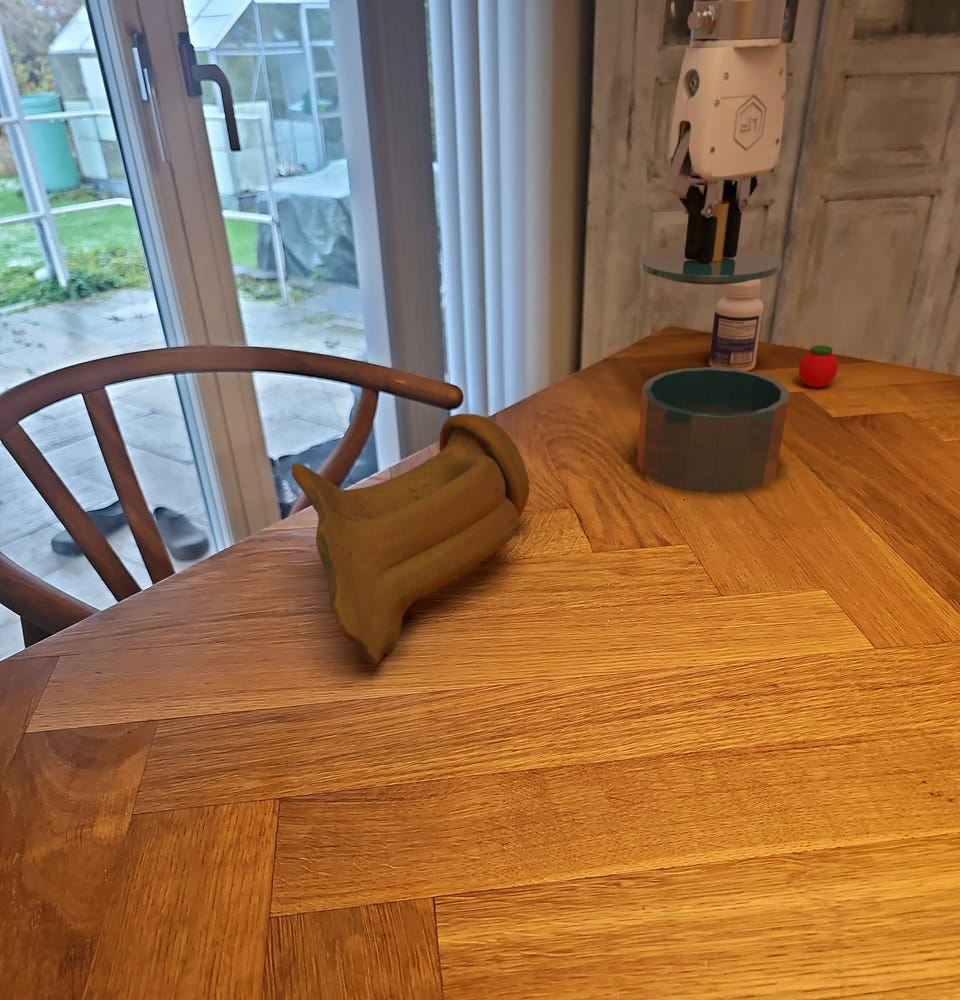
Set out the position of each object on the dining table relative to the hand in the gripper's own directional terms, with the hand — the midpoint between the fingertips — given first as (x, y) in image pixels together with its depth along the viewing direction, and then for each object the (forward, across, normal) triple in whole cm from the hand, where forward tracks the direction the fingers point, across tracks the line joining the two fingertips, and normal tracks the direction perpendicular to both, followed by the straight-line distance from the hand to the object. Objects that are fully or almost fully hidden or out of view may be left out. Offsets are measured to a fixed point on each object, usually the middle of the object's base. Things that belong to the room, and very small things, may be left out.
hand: (710, 256), depth 85 cm
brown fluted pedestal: (+16, -42, -13) cm, 47 cm away
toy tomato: (+15, +16, -3) cm, 22 cm away
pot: (+15, -10, -12) cm, 22 cm away
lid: (+1, 0, 0) cm, 1 cm away
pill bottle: (+15, +14, +7) cm, 22 cm away
